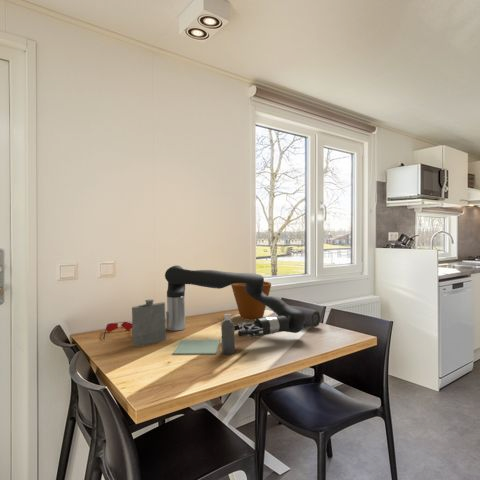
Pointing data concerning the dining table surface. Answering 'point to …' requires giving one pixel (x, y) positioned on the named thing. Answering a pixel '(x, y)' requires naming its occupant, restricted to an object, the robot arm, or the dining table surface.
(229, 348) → the grey bottle
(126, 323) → the glasses
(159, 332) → the hip flask
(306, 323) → the bluetooth speaker
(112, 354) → the dining table surface
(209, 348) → the mat
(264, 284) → the flower pot
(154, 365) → the dining table surface
